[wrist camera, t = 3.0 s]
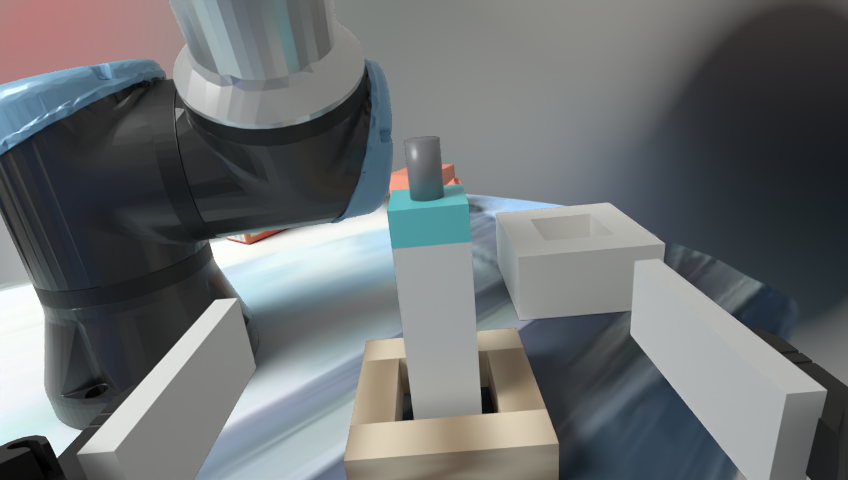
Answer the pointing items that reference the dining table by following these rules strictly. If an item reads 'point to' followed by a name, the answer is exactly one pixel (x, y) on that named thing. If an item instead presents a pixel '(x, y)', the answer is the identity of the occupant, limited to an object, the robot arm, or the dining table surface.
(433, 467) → the beige flat square frame
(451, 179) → the pink cube teapot
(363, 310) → the dining table surface
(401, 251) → the plug
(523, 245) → the socket block
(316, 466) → the dining table surface
